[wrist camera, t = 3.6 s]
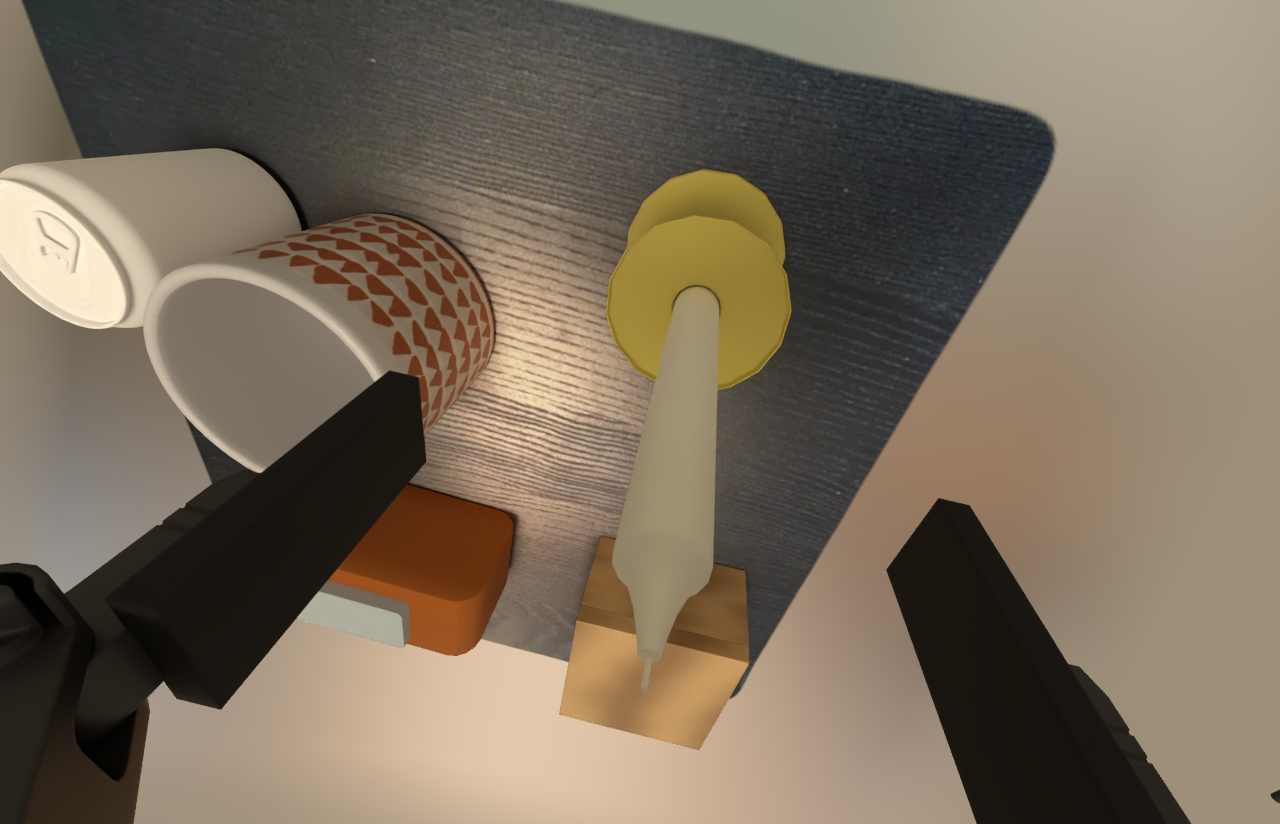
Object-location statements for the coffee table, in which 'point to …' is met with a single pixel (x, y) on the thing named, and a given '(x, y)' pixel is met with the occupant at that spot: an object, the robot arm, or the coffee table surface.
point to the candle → (688, 372)
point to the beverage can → (129, 226)
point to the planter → (315, 330)
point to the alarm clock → (420, 575)
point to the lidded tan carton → (684, 676)
